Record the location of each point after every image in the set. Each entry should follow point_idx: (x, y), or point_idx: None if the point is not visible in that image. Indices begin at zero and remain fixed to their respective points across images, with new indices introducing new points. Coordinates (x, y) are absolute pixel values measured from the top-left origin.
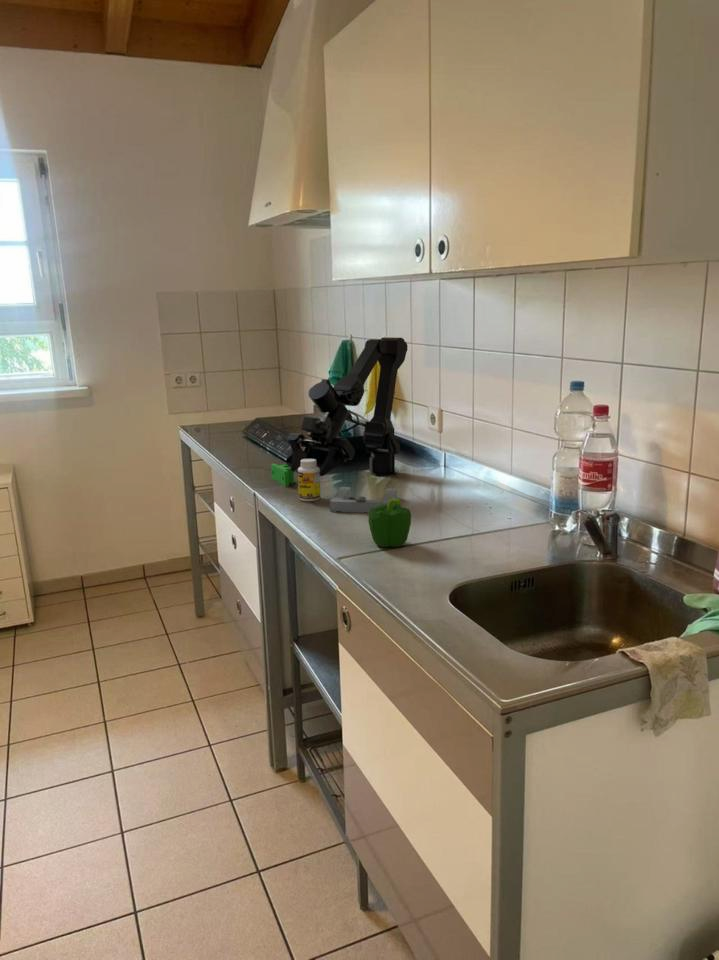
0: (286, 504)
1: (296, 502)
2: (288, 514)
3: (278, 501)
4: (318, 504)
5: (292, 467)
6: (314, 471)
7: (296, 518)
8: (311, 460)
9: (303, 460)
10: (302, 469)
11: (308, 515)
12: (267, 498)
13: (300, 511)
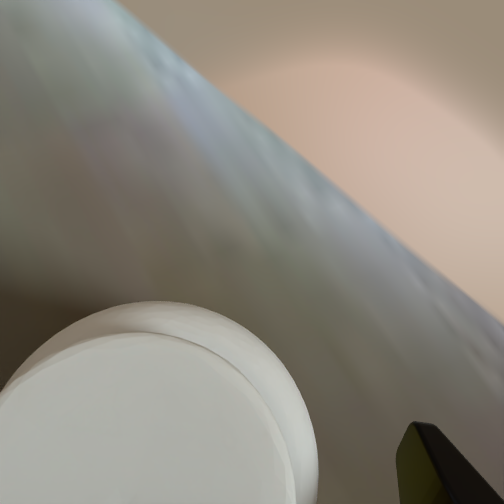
0: (265, 233)
1: (229, 304)
2: (133, 52)
3: (360, 279)
4: (46, 317)
5: (427, 442)
6: (6, 385)
7: (48, 2)
8: (32, 491)
9: (207, 420)
10: (180, 319)
11: (3, 70)
12: (477, 319)
13: (92, 125)
